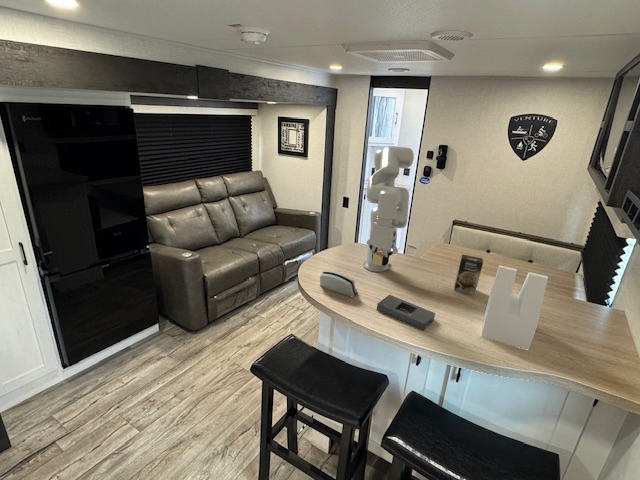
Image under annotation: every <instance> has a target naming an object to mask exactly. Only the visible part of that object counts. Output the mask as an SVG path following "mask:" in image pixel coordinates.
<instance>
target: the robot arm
mask: <svg viewBox="0 0 640 480" xmlns="http://www.w3.org/2000/svg"><path fill="white" fill-rule="evenodd" d="M374 153H375V154H374V168H375V172H374V173H373V174H372V175H371V176H370V177H369V179H368V182H367V189H366V200H367V201H368V202H369V203H371V204H377V206H374V207H373V208H372V209H371V211H370V230H369V239H368V240H366V242H365V243H366V244H367V246H368V247H367V256H366V260H364V262H363V264H362V266H363V268H364V269H366V270H368V271H370V272H375V273H383V272H384V273H385V272H386V271H388V269H389V265H388V264H389V261H390V256H392V255H394V254H397V253H398V252H399V250H398V248H397V235H398V231H397V230H398V229H404V228H405V227H406V226H407V224H408V218H409V217H408V216H409V203H410V194H409V193H410V192H409V190H408V188H406V187H401V186H395V181H396V178H398V177H399V175H400V169H409V168H410V167H411V166H412V165H413V164H414V163H413V162H414V159H415V158H414V151H413V149H412V148H410V147H406V146H405V147H404V146H395V145H394V146H392V145H390V146H386V147H384V148H380V149H377V150H376V151H375V152H374ZM378 250H380V251H383V252H385V257H384V258H383V266H382V267H381V266H378V265H376V264H373V263H372V259H373V253H375V252H376V251H378Z"/></svg>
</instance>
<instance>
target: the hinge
mask: <svg viewBox="0 0 640 480" xmlns="http://www.w3.org/2000/svg"><path fill="white" fill-rule="evenodd" d="M319 286H320V287H322V288H326V289H329V290H332V291H333V292H337V293H340V294H342V295H346V296H348V297H351V298H353V297H354V296H355V294H357V293H358V288H356V284H355V280H354V278H351V277H349V276H347V275H345V274H343V273H342V272H341V273H340V272H338V271H334V270H330V269H329V270H328V269H326V270H324V271H322V273H321V274H320V276H319Z"/></svg>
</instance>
